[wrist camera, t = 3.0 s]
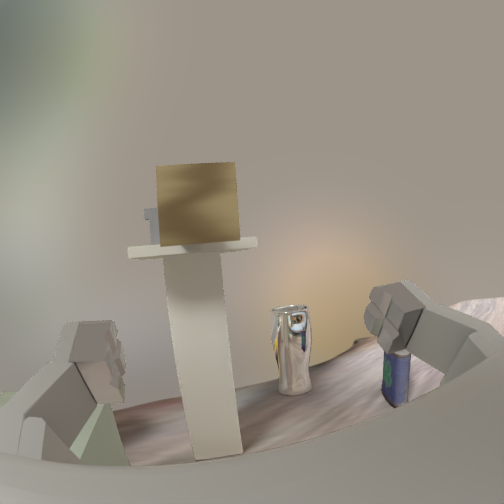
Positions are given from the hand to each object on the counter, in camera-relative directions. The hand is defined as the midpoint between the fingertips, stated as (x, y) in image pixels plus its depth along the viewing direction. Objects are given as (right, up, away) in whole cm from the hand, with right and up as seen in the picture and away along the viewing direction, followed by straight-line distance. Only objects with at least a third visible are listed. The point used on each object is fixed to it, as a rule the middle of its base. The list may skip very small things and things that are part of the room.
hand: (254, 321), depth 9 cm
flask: (+22, -21, +32) cm, 44 cm away
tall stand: (-5, -23, +24) cm, 34 cm away
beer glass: (+8, -23, +41) cm, 48 cm away
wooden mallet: (-5, +3, +16) cm, 17 cm away
